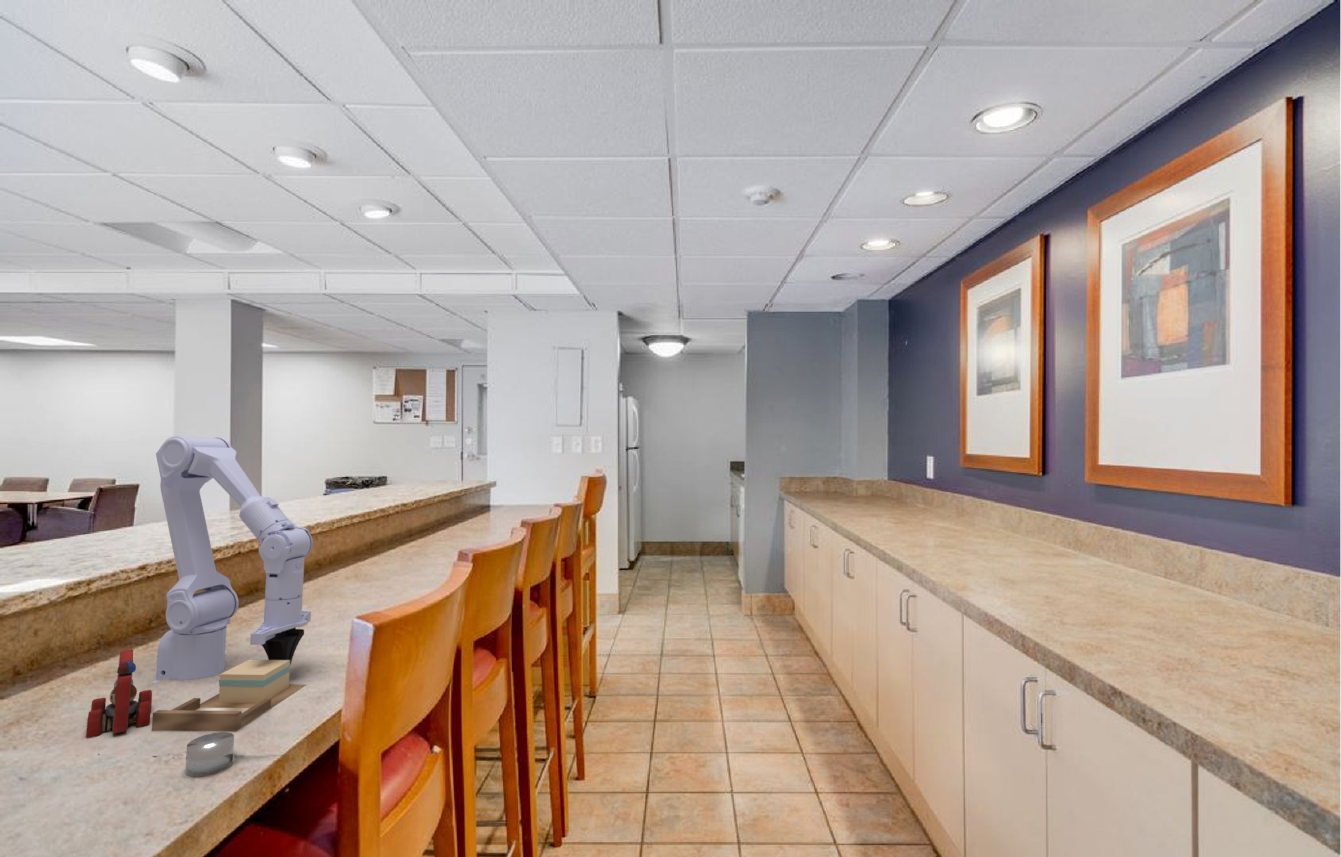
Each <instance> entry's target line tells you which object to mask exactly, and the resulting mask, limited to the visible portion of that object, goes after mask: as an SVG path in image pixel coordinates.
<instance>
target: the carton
mask: <svg viewBox="0 0 1341 857" xmlns="http://www.w3.org/2000/svg"><path fill="white" fill-rule="evenodd" d="M290 672H291V665H290V660H268V659H248V660H246V661H244V662H242V663H240V664H237V665H236V666H234V667H232V668H230V669H228V670H225V671H223V672H221V673H219V682H218V687H219V690H218V691H219V692H218V694H219V703H259V702H260V701H262V700H264V699H270V698H272V697H273V696H275V695H276V694H278V693H279V692H281V691H283V690H284V689H286V688H287V687H289V684H290Z"/></svg>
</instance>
